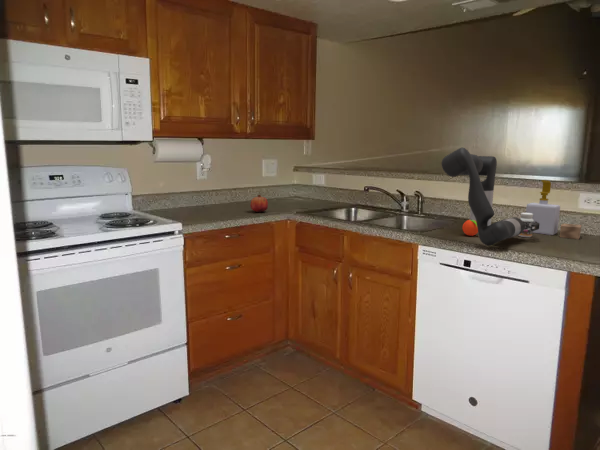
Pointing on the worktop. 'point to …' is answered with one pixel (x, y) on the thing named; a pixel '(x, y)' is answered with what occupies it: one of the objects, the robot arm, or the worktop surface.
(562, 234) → the walnut block
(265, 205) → the fruit
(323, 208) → the worktop surface
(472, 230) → the clementine
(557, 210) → the soap bottle
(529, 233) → the pill bottle
